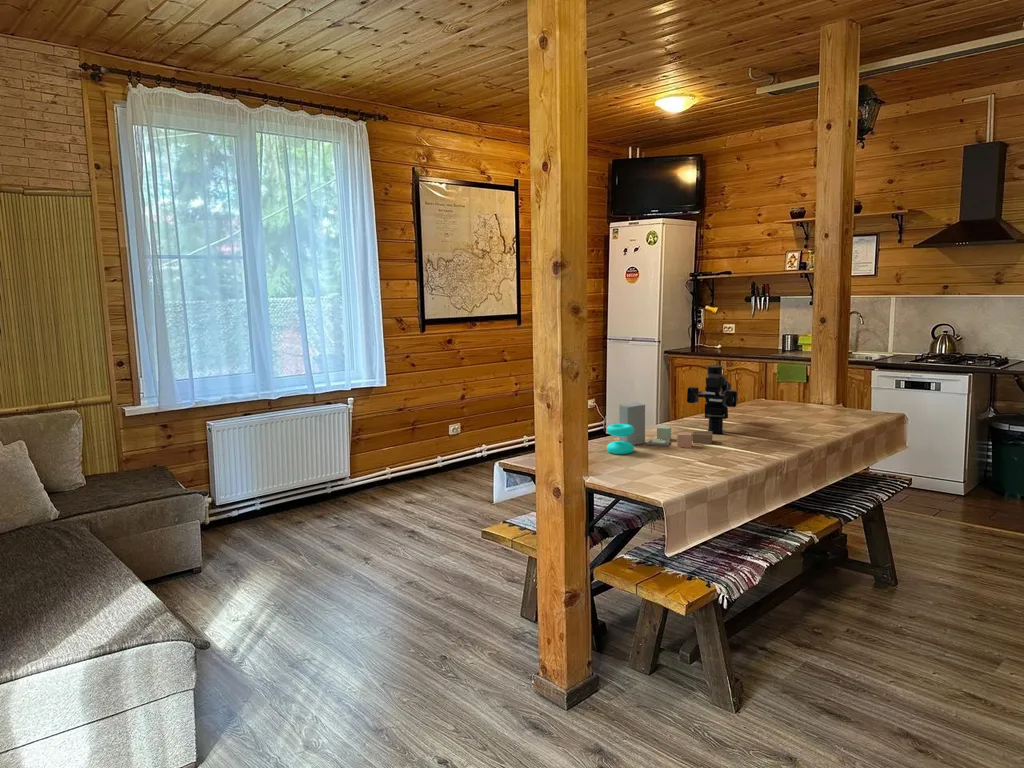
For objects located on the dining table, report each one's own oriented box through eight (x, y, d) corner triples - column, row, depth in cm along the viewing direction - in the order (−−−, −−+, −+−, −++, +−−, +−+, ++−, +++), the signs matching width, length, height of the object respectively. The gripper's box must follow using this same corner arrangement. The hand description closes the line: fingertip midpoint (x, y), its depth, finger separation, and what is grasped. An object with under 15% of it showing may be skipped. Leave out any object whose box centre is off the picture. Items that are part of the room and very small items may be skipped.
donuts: (602, 426, 260) (613, 422, 268) (602, 453, 261) (613, 448, 269) (628, 429, 255) (638, 424, 263) (628, 456, 256) (637, 450, 264)
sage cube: (658, 437, 286) (658, 425, 285) (671, 438, 285) (671, 426, 284) (656, 440, 281) (657, 428, 281) (669, 441, 280) (669, 428, 279)
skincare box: (636, 440, 281) (636, 401, 279) (646, 444, 274) (646, 404, 272) (618, 443, 278) (618, 403, 276) (627, 446, 271) (627, 405, 269)
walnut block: (694, 440, 281) (694, 430, 280) (712, 441, 278) (712, 431, 278) (692, 444, 274) (692, 434, 274) (711, 445, 272) (711, 434, 271)
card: (649, 441, 280) (649, 439, 280) (670, 442, 277) (670, 440, 277) (646, 445, 272) (646, 443, 272) (668, 446, 270) (668, 444, 270)
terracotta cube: (678, 444, 273) (678, 432, 272) (691, 445, 271) (692, 432, 271) (677, 447, 268) (677, 434, 268) (690, 448, 267) (691, 435, 266)
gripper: (691, 370, 284) (685, 379, 270) (739, 374, 277) (736, 383, 263) (689, 397, 286) (684, 407, 272) (737, 402, 280) (734, 412, 266)
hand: (709, 401), depth 268 cm, fingers open, 9 cm apart
